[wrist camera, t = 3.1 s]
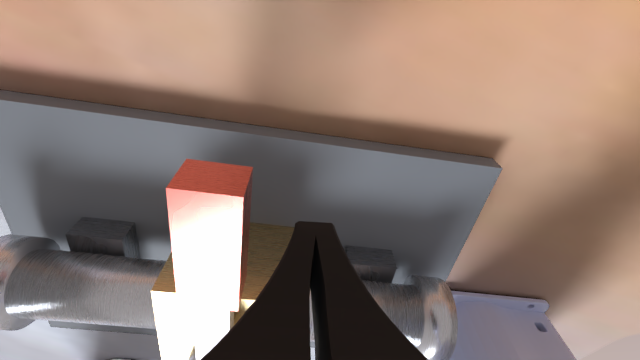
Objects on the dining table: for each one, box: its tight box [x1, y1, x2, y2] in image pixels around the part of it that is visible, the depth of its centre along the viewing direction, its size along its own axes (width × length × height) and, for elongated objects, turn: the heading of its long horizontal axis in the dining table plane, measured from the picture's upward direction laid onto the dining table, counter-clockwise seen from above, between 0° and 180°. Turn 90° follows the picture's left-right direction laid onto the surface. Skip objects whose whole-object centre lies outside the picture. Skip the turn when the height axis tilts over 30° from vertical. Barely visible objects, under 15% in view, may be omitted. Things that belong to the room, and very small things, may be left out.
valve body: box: [0, 217, 458, 360], centre depth 19 cm, size 25×6×6 cm, turn 81°
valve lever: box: [166, 159, 253, 360], centre depth 13 cm, size 12×3×2 cm, turn 171°
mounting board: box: [0, 90, 502, 348], centre depth 22 cm, size 28×18×1 cm, turn 81°
